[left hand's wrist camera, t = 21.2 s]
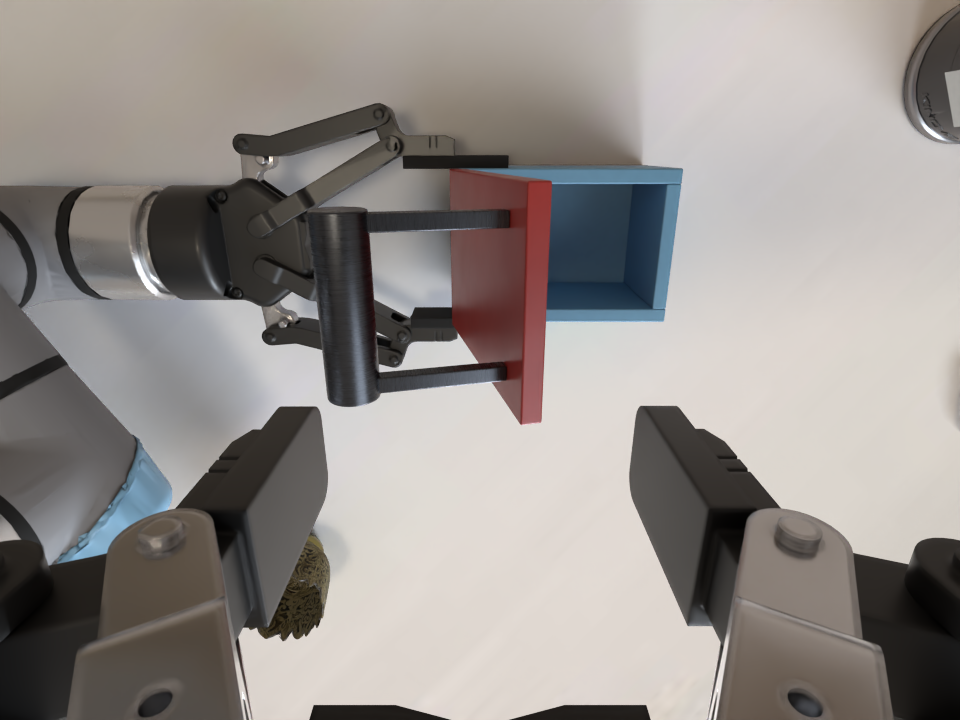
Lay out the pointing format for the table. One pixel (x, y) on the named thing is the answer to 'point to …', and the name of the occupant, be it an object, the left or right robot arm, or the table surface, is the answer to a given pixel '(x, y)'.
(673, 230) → the chest
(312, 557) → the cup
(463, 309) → the lid
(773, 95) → the table surface
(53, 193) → the right robot arm
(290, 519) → the left robot arm
